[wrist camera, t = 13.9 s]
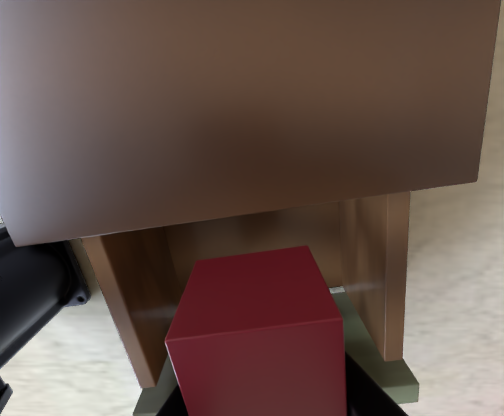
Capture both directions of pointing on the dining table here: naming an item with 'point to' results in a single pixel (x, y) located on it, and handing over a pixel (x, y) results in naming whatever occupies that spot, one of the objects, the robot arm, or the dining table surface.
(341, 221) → the drawer
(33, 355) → the dining table surface
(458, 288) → the dining table surface
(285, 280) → the red block
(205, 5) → the cabinet
